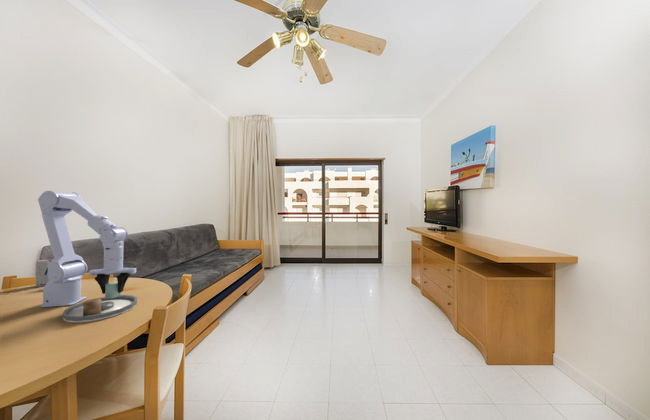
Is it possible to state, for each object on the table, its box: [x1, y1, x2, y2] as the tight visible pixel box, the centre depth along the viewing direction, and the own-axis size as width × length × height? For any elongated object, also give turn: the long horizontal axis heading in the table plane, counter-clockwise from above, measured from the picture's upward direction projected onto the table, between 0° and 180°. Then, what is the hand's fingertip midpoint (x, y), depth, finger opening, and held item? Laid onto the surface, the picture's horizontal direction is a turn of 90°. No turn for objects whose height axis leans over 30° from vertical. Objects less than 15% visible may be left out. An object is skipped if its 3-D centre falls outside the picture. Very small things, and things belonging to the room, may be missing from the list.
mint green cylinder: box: [104, 281, 121, 298], centre depth 91 cm, size 4×4×5 cm
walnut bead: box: [82, 297, 101, 316], centre depth 79 cm, size 4×4×5 cm
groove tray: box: [61, 294, 138, 324], centre depth 85 cm, size 20×20×2 cm
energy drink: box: [35, 258, 54, 288], centre depth 109 cm, size 5×5×12 cm
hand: (112, 292), depth 91 cm, fingers closed on mint green cylinder, 4 cm apart
